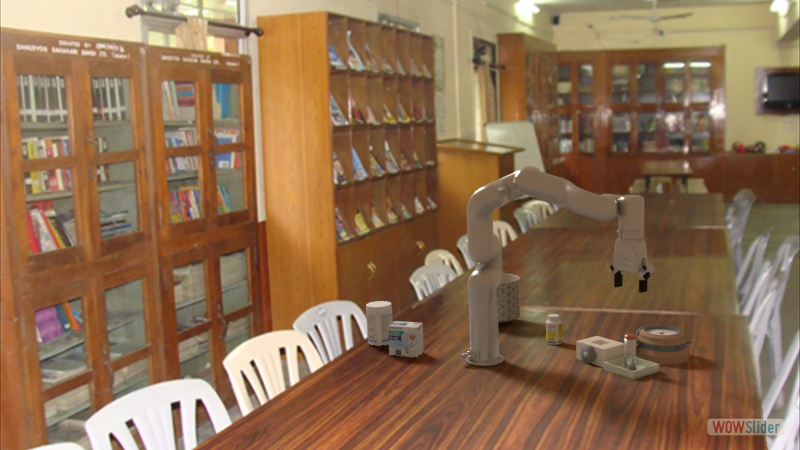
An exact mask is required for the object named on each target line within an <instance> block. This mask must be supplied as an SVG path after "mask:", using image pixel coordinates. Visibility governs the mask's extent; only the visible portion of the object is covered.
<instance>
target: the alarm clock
mask: <svg viewBox="0 0 800 450" xmlns="http://www.w3.org/2000/svg"><path fill="white" fill-rule="evenodd" d="M628 333H629V332H628ZM628 333H627V332H626V333H621V334H619V335H618V336H617V340H620V341H623V342H624V338H620V337H622V336H624V334H628ZM635 334H636V357H637V358H640V359H643V360H647V361H650V362H654V363H657V364H659V366H674V365H675V366H676V365H680V364H685V363H686V362H688V361H689V359H690V358H689V357H690V356H689V355H690V351H689V349H688V347H687V345H688V344H693V341H690V340H687V339H686V337H685V332H684V331H682V330H680V329H678V328H676V327H673V326H668V325H649V326H641V327H639V328H638V329H637V331H636V333H635ZM686 344H687V345H686Z"/></svg>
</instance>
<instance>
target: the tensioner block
mask: <svg viewBox="0 0 800 450" xmlns="http://www.w3.org/2000/svg"><path fill="white" fill-rule="evenodd" d="M575 357H576V359H577V360H579V361H582V362H584V363H586V364H590V365H591V364H592V365H595V366H597V367H601V368H603V362H606V361H610V360H613V359H617V358H620V357H624V342H620V341H617V340H613V339H610V338H606V337H603V336H599V335H595V336H591V337H588V338H584V339H583V338H582V339H579V340H575Z"/></svg>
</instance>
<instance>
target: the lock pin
mask: <svg viewBox="0 0 800 450" xmlns="http://www.w3.org/2000/svg"><path fill="white" fill-rule="evenodd" d="M623 334H624V335H623V339H624V341H623V343H624V368H625V369H628V370H631V371H634V370H636V345H637V344H636V341H637V339H636V338H637V337H636V333H632V332H631V333H629V332H628V334H625V333H623Z"/></svg>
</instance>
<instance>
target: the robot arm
mask: <svg viewBox="0 0 800 450" xmlns="http://www.w3.org/2000/svg"><path fill="white" fill-rule="evenodd" d="M523 196H529V197H531V198H534V199H535V198H536V199H538V200H540V201H541V200H542V201H543V202H547V203H549V204H553V205H556V206H559V207H561V208H563V209H566V210H568V211H571V212H573V213H575V214H579V215H581V216H583V217H587V218H591V219H593V220H597V221H601V222H608V221H612V219H614V218H615V217H617V218H618V229H617V230H616V234H617V235H618V238H616V240H615V243H614V249H613V256H612V257H610V258H609V259H608V260H607V262H608V265H609V268H610V271H612V273H611V274H612V275H614V276H613V279H614V280H613V284H614V285H613V287H614V288H620V287H623V285H624V284H623V283H624V282H623V281H624V280H623V279H624V278H623V277H624V276H623V272H624V273H630V274H637V275H638V277H639V280H638V292H639V293H641V294H642V293H647V292H648V285H649V284H648V281H649V280H650V278H651V276H652V275H653V273H654V272H655V270H656V267H655V265H653V264H652V263H651V262H649V261H648V250H647V249H648V248H647V244H646V240H645V238H644V237H645V198H644V196H642V195H639V194H625V195H622V194H621V195H619V194H612V193H602V194H598V193H594V192H592V191H588V190H586V189H583V188H581V187H579V186H577V185H575V183H573V182H572V181H570V180H568V179H566V178H564V177H560V176H556V175H554V174H551V173H546V172H544V171H541V170H540V169H539V168H537V167H536V166H532V165H525V166H524V167H521V168H519V169H518V170H516V171H514V172H512V173H510V174H508V175H505V176H504V177H501V178H498V179H497V180H494V181H492V182H489V183H487V184H484V185H482V186H481V187H479V188H478V189H477V190H475V192H473V193H472V195H471V196H470V198H469V199H468V202H467V206H466V235H467V254H468V257H469V259H470V260H471V261H472V262H473V263H474V270H473V271H472V272H471V273H470V275H469V276H468V279H467V284H466V288H467V297H468V315H469V317H468V318H469V319H468V320H469V347H467V351H466V352H462V353H459V354H458V356H457V357H458V359H459V360H464V359H465V362H466V363H467V364H469V365H472V366H477V367H492V366H496V365H497V366H498V365H499V364H501V363H503V362H504V356H503V355H502V354H500V352H499V347H500V346H499V326H498V302H497V288H498V286H499V285H500V284H501V281H502V276H503V273H504V272H503V259H502V258H503V257H502V255H503V254H502V244H501V241H500V239H499V237H498V236H497V235H496V234H495V233H494V221H493V212H494V211H495V210H496V209H499V208H501V207H503V206H505V205H506V204H509V203H511V202H513V201H515V200H517V199H519V198H521V197H523Z"/></svg>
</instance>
